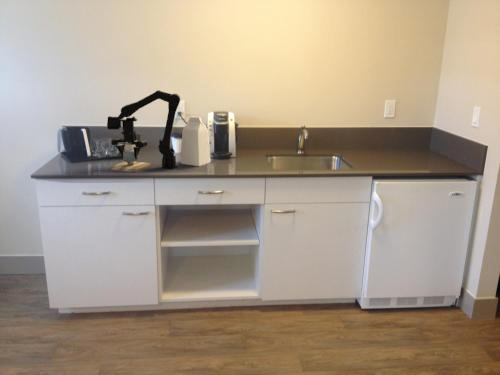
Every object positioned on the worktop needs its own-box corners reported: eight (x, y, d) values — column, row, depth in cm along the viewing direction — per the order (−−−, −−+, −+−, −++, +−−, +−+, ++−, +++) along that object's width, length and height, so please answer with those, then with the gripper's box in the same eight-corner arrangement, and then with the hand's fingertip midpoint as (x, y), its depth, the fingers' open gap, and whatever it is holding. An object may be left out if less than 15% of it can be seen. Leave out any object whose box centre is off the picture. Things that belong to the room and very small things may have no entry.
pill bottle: (141, 156, 270) (139, 131, 266) (132, 159, 263) (131, 133, 259) (130, 155, 273) (129, 130, 269) (121, 158, 266) (120, 132, 262)
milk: (181, 163, 255) (180, 117, 247) (193, 159, 265) (192, 114, 257) (199, 166, 250) (198, 118, 242) (210, 162, 259) (210, 116, 252)
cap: (135, 158, 247) (134, 149, 246) (138, 161, 241) (137, 151, 240) (122, 159, 244) (121, 150, 243) (125, 162, 238) (124, 152, 237)
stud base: (150, 165, 249) (150, 159, 248) (136, 172, 235) (136, 165, 234) (125, 163, 253) (125, 156, 252) (109, 169, 239) (109, 162, 238)
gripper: (151, 128, 243) (153, 156, 247) (121, 126, 248) (123, 154, 253) (141, 131, 233) (142, 161, 237) (109, 129, 238) (111, 158, 242)
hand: (130, 158), depth 243 cm, fingers closed on cap, 7 cm apart
